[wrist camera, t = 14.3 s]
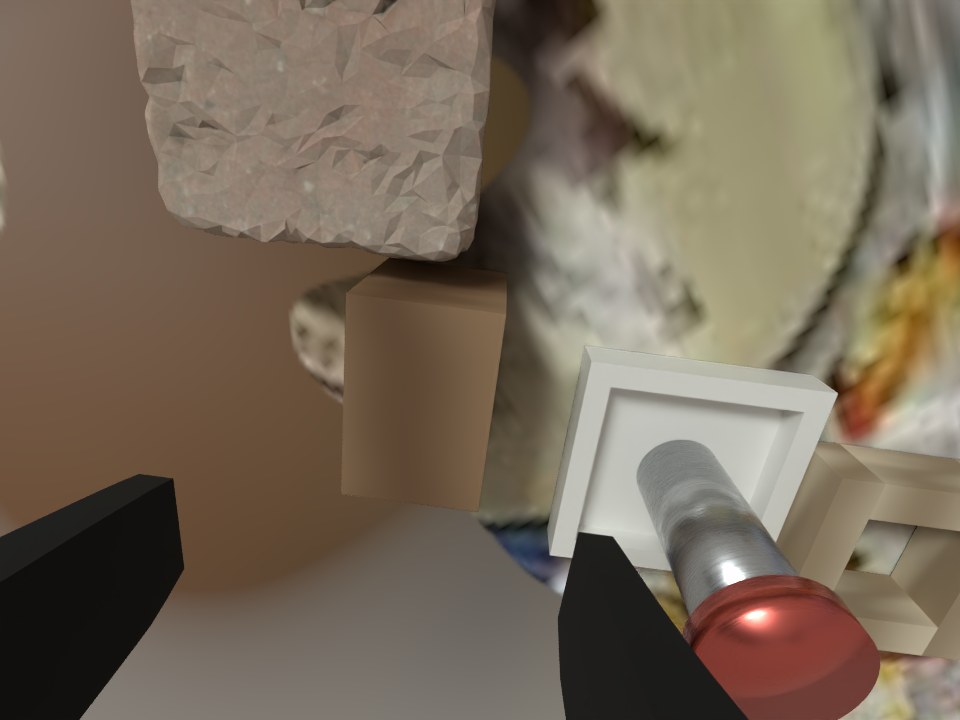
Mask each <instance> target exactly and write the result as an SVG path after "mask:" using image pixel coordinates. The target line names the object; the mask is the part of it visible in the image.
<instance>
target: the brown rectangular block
mask: <svg viewBox="0 0 960 720" xmlns="http://www.w3.org/2000/svg"><path fill="white" fill-rule="evenodd" d="M506 307H507V273H503V272H496V271H488V270H480V269H472V268H464V267H457V266H449V265H441V264H433V263H426V262H418V261H410V260H402V259H396V258H391V257H389V258H388V259H387V260H386V261H385V262H383V263H382V264H381V265H380V266H378V267H377V268H376V269H375V270H374V271H372V272H371V273H370V274H369V275H368V276H366V277H365V278H364V279H363V280H362V281H360V282H359V283H358V284H357V285H356V286H354V287H353V288H352V289H351V290H349V291H348V292H347V293H346V307H345V352H344V398H343V443H342V445H343V446H342V490H341V494H344V495H352V496H360V497H367V498H375V499H382V500H390V501H398V502H405V503H413V504H420V505H428V506H436V507H444V508H451V509H459V510H466V511H474V512H478V509H479V502H480V495H481V488H482V481H483V474H484V467H485V460H486V453H487V446H488V439H489V432H490V425H491V418H492V411H493V404H494V397H495V390H496V383H497V376H498V369H499V362H500V355H501V348H502V341H503V334H504V327H505V320H506Z"/></svg>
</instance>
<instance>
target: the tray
mask: <svg viewBox="0 0 960 720" xmlns="http://www.w3.org/2000/svg"><path fill="white" fill-rule="evenodd" d="M837 395H838V393H837V392H835V391H834V390H832V389H831V388H830V387H828V386H827V385H825V384H824V383H823V382H821V381H820V380H818V379H817V378H816V377H814V376H813V375H807V374H799V373H791V372H784V371H776V370H768V369H760V368H753V367H745V366H737V365H730V364H722V363H714V362H706V361H699V360H691V359H683V358H676V357H668V356H660V355H652V354H645V353H637V352H629V351H622V350H614V349H606V348H599V347H591V346H585V349H584V354H583V359H582V363H581V368H580V373H579V378H578V383H577V388H576V392H575V397H574V402H573V407H572V412H571V416H570V421H569V426H568V431H567V436H566V441H565V445H564V450H563V455H562V460H561V465H560V469H559V474H558V479H557V484H556V489H555V493H554V498H553V503H552V508H551V513H550V518H549V522H548V527H547V532H548V541H549V551H550V555H553V556H561V557H568V558H572V556H573V552H574V548H575V543H576V539H577V535H578V532H584V533H591V534H599V535H606V536H613V537H614V539H615V540H616V541H617V543H618V544H619V546H620V547H621V549H622V550H623V551H624V553H625V554H626V556H627V557H628V559H629V560H630V562H631V563H632V565H633V566H636V567H644V568H652V569H659V570H667V571H671V568H670V566H669V563H668V561H667V558H666V556H665V553H664V551H663V548H662V546H661V543H660V541H659V538H658V536H657V533H656V531H655V528H654V525H653V523H652V520H651V518H650V515H649V513H648V510H647V508H646V505H645V503H644V500H643V498H642V495H641V493H640V490H639V488H638V485H637V479H636V475H637V470H638V467H639V464H640V462H641V461H642V459H643V458H644V456H645V455H646V454H647V453H648V452H649V451H651V450H652V449H653V448H655V447H656V446H658V445H660V444H662V443H665V442H668V441H673V440H691V441H695V442H698V443H701V444H703V445H704V446H706V447H707V448H709V449H710V450H711V451H712V452H713V454H714V455H715V456H716V458H717V459H718V461H719V462H720V464H721V465H722V467H723V468H724V469H725V471H726V472H727V474H728V475H729V477H730V478H731V479H732V481H733V482H734V484H735V485H736V487H737V488H738V489H739V491H740V492H741V494H742V495H743V497H744V498H745V499H746V501H747V502H748V504H749V505H750V507H751V508H752V509H753V511H754V512H755V514H756V515H757V517H758V518H759V519H760V521H761V522H762V524H763V525H764V527H765V528H766V529H767V531H768V532H769V534H770V535H771V537H772V538H773V540H774V541H775V542H776V541H777V538H778V536H779V534H780V531H781V529H782V526H783V524H784V522H785V519H786V517H787V514H788V512H789V510H790V507H791V505H792V502H793V500H794V498H795V495H796V493H797V491H798V488H799V486H800V483H801V481H802V479H803V476H804V474H805V471H806V469H807V467H808V464H809V462H810V459H811V457H812V455H813V452H814V450H815V447H816V445H817V443H818V440H819V438H820V436H821V433H822V431H823V428H824V426H825V424H826V421H827V419H828V416H829V414H830V412H831V409H832V407H833V404H834V402H835V400H836V397H837Z"/></svg>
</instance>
